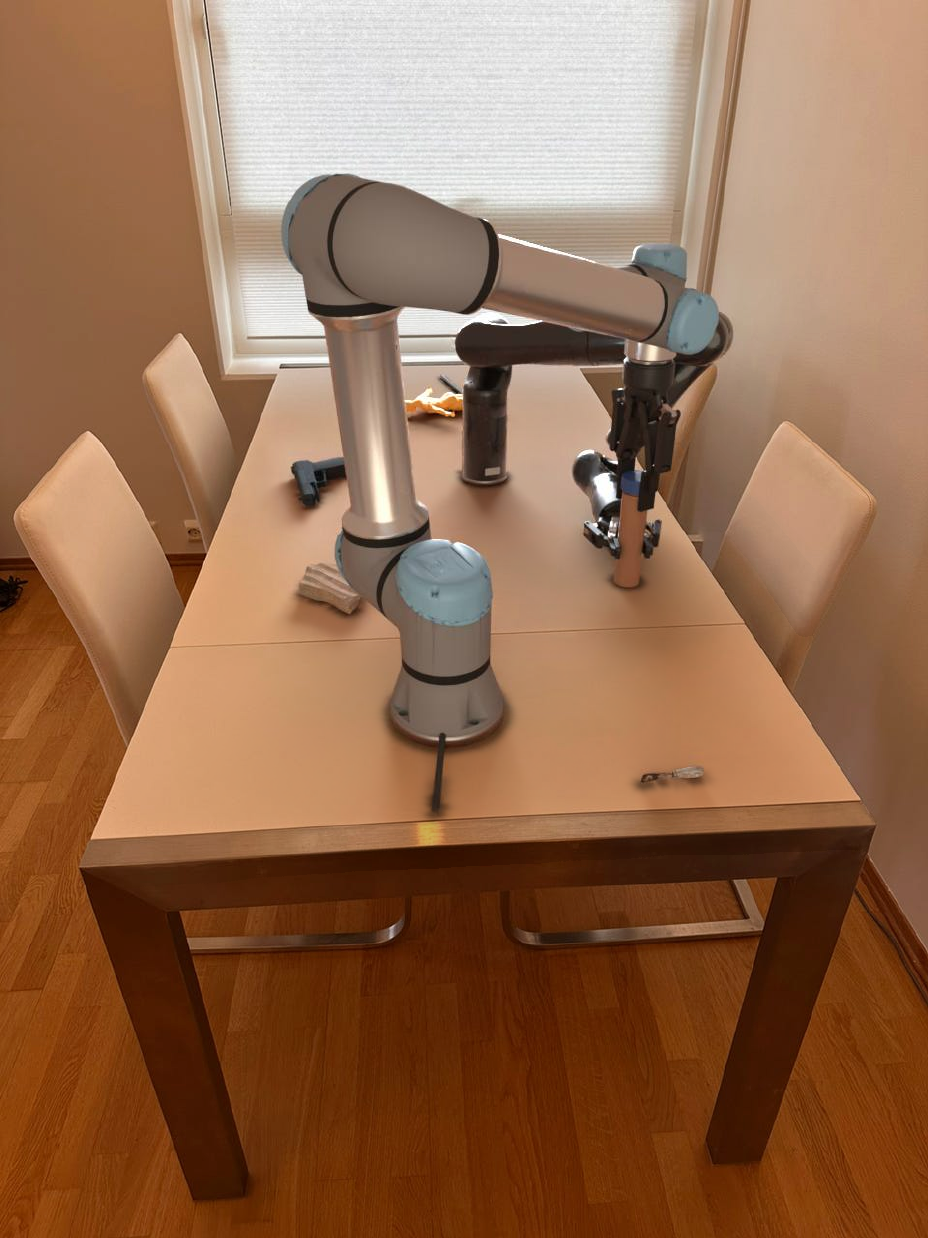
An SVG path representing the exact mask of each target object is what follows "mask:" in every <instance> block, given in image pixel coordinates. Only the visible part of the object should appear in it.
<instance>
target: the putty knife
mask: <svg viewBox="0 0 928 1238" xmlns="http://www.w3.org/2000/svg"><path fill="white" fill-rule="evenodd" d="M704 772H705V771H704V768H702V767H701V766H697V765H695V766H688V767H683V768H679V769H675V770H673V771H671V772H653V773H652V772H651V773H650V772H649V773H644V774H642V776H641V779H640V783H642V784H645V783H648V782H653V781H659V780H665V779H668V778H673V779H674V778H675V779H693V778H694V779H695V778H700V777H702V776H703V775H704Z"/></svg>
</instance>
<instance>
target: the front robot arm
mask: <svg viewBox="0 0 928 1238" xmlns="http://www.w3.org/2000/svg"><path fill="white" fill-rule="evenodd" d="M282 214H283V216H282V219H281V225H280V235H281V244H282V248H283V250H284V253H285V257H286V258H287V259H288V261H289V263H290V264H291V266H292V268H294V270H295V271H296V272H297V273H298V274H300V275H301V276H302V283H303V289H304V295H305V300H306V306H307V312H308V314H309V315H310V316H311V317H312V318H314V319H315V320H317V321H318V322H319V323H320V324H321V325H322V326H323V330H324V337H325V342H326V350H327V356H328V357H327V358H328V363H329V369H330V376H331V383H332V389H333V397H334V403H335V410H336V416H337V423H338V430H339V434H340V435H339V436H340V443H341V450H342V455H343V456H342V457H344V463H345V470H346V483H347V489H348V496H349V503H350V506H349V507H348V508H347V509H346V510H345V511H344V513H343V514H342V517H341V531H340V533H339V534H337V536H336V539H335V543H334V559H335V564H336V565H337V567H338V570H339V572H340V573H341V575H342V576H343V578H344V579H345V581H346V582H347V584H348V585H349V586H350V587H351V588H352V589H353V590H354V591H355V592H356V593H357V594H359V595H361V596H362V597H361V598H363V599H364V600H365V601H366V602H367V603H369V604H370V605H371V606H372V607H373V608H374V609H375V610H377V611H378V612H379V613H380V614H381V615H382V616H383V617H385V618H386V619H387V621H389V622H390V623H392V625H394V626H395V627H396V628H397V630H398V631H399V635H400V655H401V667H400V669H399V672H398V675H397V678H396V681H395V684H394V687H393V690H392V693H391V696H390V703H389V706H390V718H391V721H392V724H393V725H394V727H395V728H396V729H397V731H398V732H399V733H400V734H402V735H403V736H404V737H406V738H407V739H409V740H411V741H413V742H415V743H417V744H420V745H421V744H422V745H425V746H430V747H437V754H436V762H435V763H436V765H435V773H434V775H435V776H434V785H433V793H432V803H431V811H432V812H434V813H435V812H436V813H437V812H438V811H439V810H440V802H441V801H440V800H441V793H442V781H443V770H444V759H445V749H446V748H454V747H455V748H457V747H463V746H467V745H471V744H473V743H476V742H480V741H481V740H483V739H485V738H486V737H488V736H489V735H491V734H492V733H493V732H494V731H495V730H496V729H498V727H499V726H500V724H501V722H502V720H503V717H504V696H503V693H502V690H501V687H500V685H499V682H498V679H497V677H496V674H495V672H494V668H493V666H492V664H491V654H492V653H491V651H492V649H491V648H492V647H491V645H492V608H493V607H492V605H493V599H494V590H493V583H492V574H491V568H490V566H489V564H488V563H487V560H486V559H485V558H484V556H482V555H481V553H479V551H477V550H476V549H474V548H472V547H471V546H469V545H467V544H465V543H462V542H459V541H456V542H454V543H452V542H451V540H450V539H440V538H439V539H432V533H431V532H432V531H431V522H430V521H431V520H430V512H429V509H428V506H427V505H426V504H424V502H422V501H420V500H419V499H417V497H416V489H415V488H416V487H415V479H414V470H413V469H414V468H413V460H412V459H413V458H412V451H411V440H410V429H409V421H408V412H407V410H406V393H405V383H404V382H405V381H404V371H403V363H402V353H401V343H400V334H399V323H398V319H399V318H398V317H399V315H400V314H401V313H402V312H403V311H404V309H405V308H414V309H424V310H432V311H433V310H435V311H441V312H448V313H454V314H458V315H462V316H463V315H464V316H469V315H473V314H476V313H477V312H479V311H480V310H481V309H484V310H488V311H492V312H493V311H494V312H498V313H502V314H507V315H512V316H517V317H520V318H526V319H530V320H535V321H544V322H548V323H553V324H558V325H562V326H567V327H569V328H570V329H572V330H574V331H579V332H580V331H589V332H595V333H599V334H604V335H609V336H613V337H618V338H623V339H625V349H624V354H625V355H626V356H627V357H626V358H625V359H624V364H622V375H621V381H622V384H623V385H624V387H621V388H616V389H611V390H612V391H611V401H612V412H611V423H610V429H611V434H610V445H608V447H609V450H610V452H614V453H615V456H616V457H615V458H616V459H617V458H618V463H617V476H618V480H617V491H616V498H617V499H622V490H621V488H620V487H621V478H622V474H623V473H624V472H627V471H632V470H636V461H637V459H636V458H637V457H636V458H634V457H631V458H630V456H633V455H636V453H635V452H634V447H635V444H636V440H637V437H638V434H639V430H640V427H641V429H643V432H644V446H643V447H644V465H645V466H644V469H645V470H641V471H642V472H641V481H640V490H639V499H638V509H637V510H638V511H639V512H643V511H646V510H647V511H649V510H653V509H655V501H656V493H657V492H658V491H659V486H660V477H661V474H664V473H668V472H671V470H672V466H673V457H674V448H675V440H676V433H677V426H678V423H679V420H680V418H681V415H682V413H681V410H680V409H673V408H671V407H670V406H669V405H668V397H667V391H668V389H669V388H670V386H671V385H672V384H673V379H674V371H675V361H674V360H673V358H674V357H676V353H677V352H678V353H682V354H686V355H692V354H696V353H698V352H700V351H702V350H703V349H704V348H705V347H706V346H707V345H708V344H709V343H710V342H711V340H712V338H713V337H714V334H715V330H716V327H717V325H718V321H719V312H720V310H719V306H718V303H717V302H716V300H715V298H713V297H712V296H711V295H710V294H709V293H705V292H702V291H699V290H698V289H696V288H692V287H686V282H687V279H688V277H687V269H688V267H687V266H688V253H687V251H686V249H685V248H684V247H683V246H680V245H677V244H676V245H675V244H672V243H661V242H660V243H658V242H657V243H644V244H640V245H638V246H636V247H635V248H634V249H633V253H632V259H631V261H630V262H631V264H627V265H622V266H615V267H614V266H610V265H607V264H603V263H600V262H596V261H593V260H589V259H586V258H583V257H579V256H575V255H572V254H568V253H565V252H562V251H558V250H554V249H551V248H548V247H543V246H542V245H541V246H540V245H537V244H534V243H530V242H527V241H524V240H519V239H516V238H514V237H509V236H506V235H502V234H499V232H498V230H497V228H496V227H495V226H494V224H493V223H492V222H491V221H489V220H487V219H484V218H480V217H478V216H474V215H472V214H469V213H466V212H463V211H461V210H459V209H456V208H454V207H452V206H449V205H446V204H444V203H442V202H440V201H438V200H437V199H434V198H431V197H429V196H427V195H425V194H423V193H420V192H419V191H416V190H414V189H411V188H408V187H406V186H404V185H400V184H396V183H394V182H393V183H392V182H386V181H379V180H374V179H369V178H364V177H361V176H358V175H356V174H353V173H350V172H349V173H327V174H320V175H317V176H313V177H312V178H310V179H309V180H307V181H305V182H304V183H302V184H301V185H300V186H299V187H298V188H297V189H296V190H295V191H294V193H293V194H292V196H291V198H290V199H289V201H288V202H287V204H286V206H285V209H284V211H283V213H282ZM652 421H655V422H652ZM648 422H651V423H648ZM617 441H619V442H617ZM633 453H634V454H633Z"/></svg>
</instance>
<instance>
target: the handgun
mask: <svg viewBox="0 0 928 1238" xmlns="http://www.w3.org/2000/svg"><path fill="white" fill-rule="evenodd" d="M290 472H291V474H292V475H293V476H294V479H295V483H296V487H297V490H298V493H299V496H300V497H297V500H298V501H301V504H302V505H303V506H304V507H315V506H316V501H317V502H318V503H320V492H319V489H323V488H326V487H327V486H328V485H327V482H328V481H333V480H337V479H341V478H345V477H346V470H345V463H344V457H343V456H338V457H337V456H336V457H332V458H328V459H323V460H319V461H313V462H312V461H310V460H308V459H307V460H297V461H295V462H293V463H292V466H290ZM346 478H347V477H346Z"/></svg>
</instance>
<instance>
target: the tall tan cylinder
mask: <svg viewBox="0 0 928 1238" xmlns="http://www.w3.org/2000/svg"><path fill="white" fill-rule="evenodd" d="M638 499H639V495H631V494H627V493H625V492H623V491H622V499H621V509H620V519H619V529H618V542H619V545H620V547H621V554H620V559H615V561H614V571H613V572H614V574H613V583H614V584H615V585H617V586H618V587H622V588H635V587H637V586H638V585H640V578H641V570H642V569H641V568H642V559H643V544H644V535H645V531H646V529H645V527H646V522H647V516H648V510H646V511H643V512H639V511H638V510H637V509H638Z"/></svg>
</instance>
